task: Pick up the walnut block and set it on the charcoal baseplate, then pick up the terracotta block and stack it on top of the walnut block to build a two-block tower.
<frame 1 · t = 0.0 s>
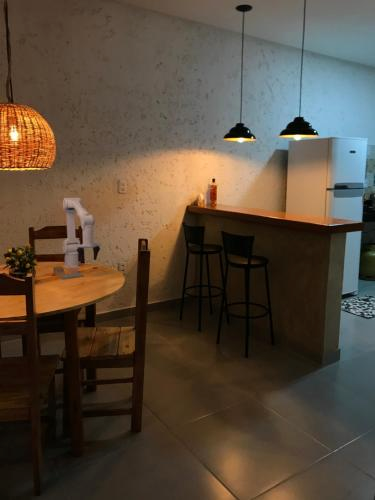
hand: (88, 260, 231), 10 cm above the table, fingers open, 7 cm apart
walnut brick: (58, 273, 240), on the table
terracotta brick: (73, 273, 242), on the table
baseplate: (71, 276, 234), on the table
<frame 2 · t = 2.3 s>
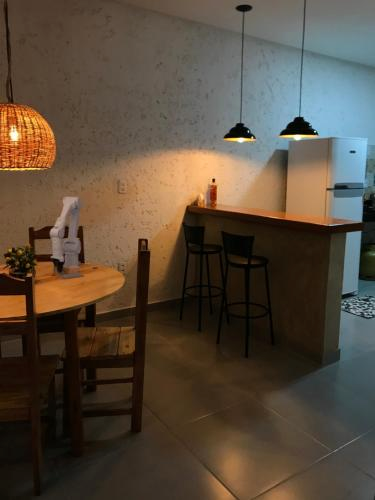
hand: (58, 271, 240), 1 cm above the table, fingers closed on walnut brick, 5 cm apart
walnut brick: (58, 273, 240), on the table, touching gripper
everything else where it was.
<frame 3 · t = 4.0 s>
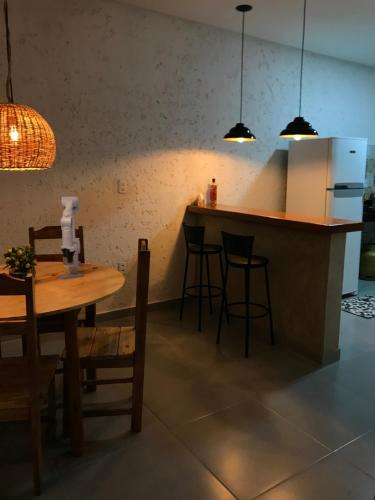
hand: (68, 261, 233), 8 cm above the table, fingers closed on walnut brick, 5 cm apart
walnut brick: (68, 264, 233), point 7 cm above the table, touching gripper
everything else where it was.
when the fingers open (4 cm above the table, at t = 5.5 s): walnut brick drops 2 cm, resting on baseplate.
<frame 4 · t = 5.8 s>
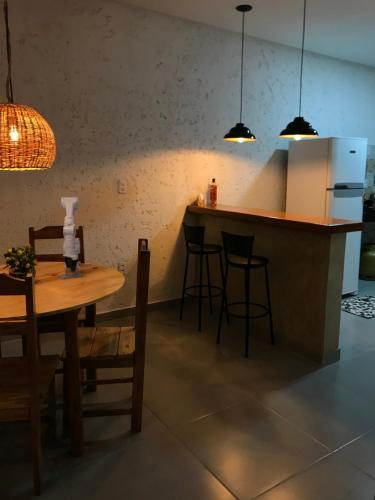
hand: (70, 269, 233), 4 cm above the table, fingers open, 7 cm apart
walnut brick: (70, 275, 234), point 1 cm above the table, touching baseplate
everything else where it was.
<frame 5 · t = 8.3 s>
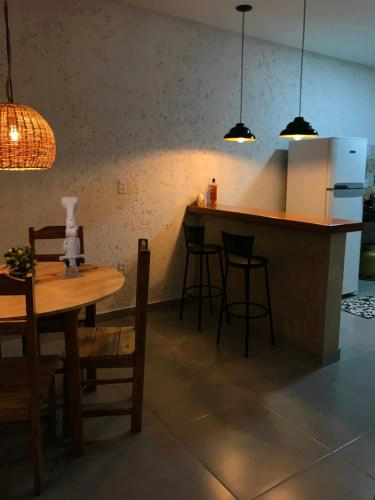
hand: (72, 270, 241), 1 cm above the table, fingers closed on terracotta brick, 5 cm apart
terracotta brick: (73, 273, 242), on the table, touching gripper
everything else where it was.
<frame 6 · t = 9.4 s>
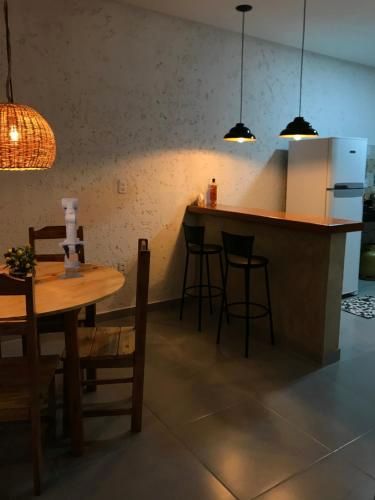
hand: (72, 257, 240), 9 cm above the table, fingers closed on terracotta brick, 5 cm apart
terracotta brick: (72, 260, 240), point 8 cm above the table, touching gripper
everything else where it was.
when the fingers open (7 cm above the table, at t = 10.8 s): terracotta brick drops 1 cm, resting on walnut brick.
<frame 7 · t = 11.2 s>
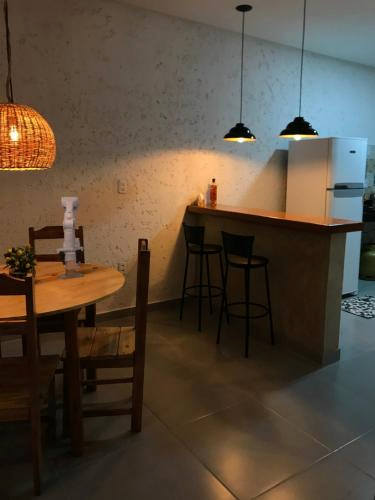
hand: (70, 264, 233), 7 cm above the table, fingers open, 7 cm apart
walnut brick: (70, 275, 234), point 1 cm above the table, touching baseplate, terracotta brick
terracotta brick: (70, 268, 233), point 5 cm above the table, touching walnut brick
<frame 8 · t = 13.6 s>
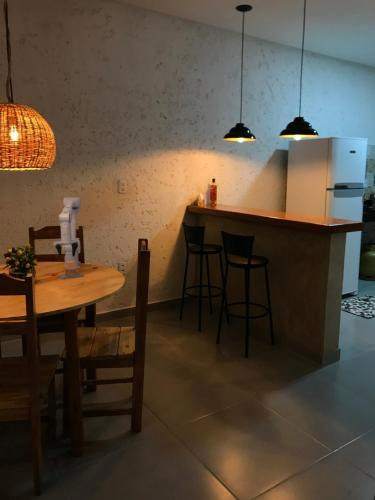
hand: (67, 256, 237), 10 cm above the table, fingers open, 7 cm apart
nothing on the table moved.
at the end: walnut brick 0.1 cm off-centre on the baseplate, point 0.8 cm above the baseplate's base; terracotta brick 0.1 cm off-centre on the walnut brick, point 4.0 cm above the walnut brick's base; terracotta brick tilted 0° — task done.
